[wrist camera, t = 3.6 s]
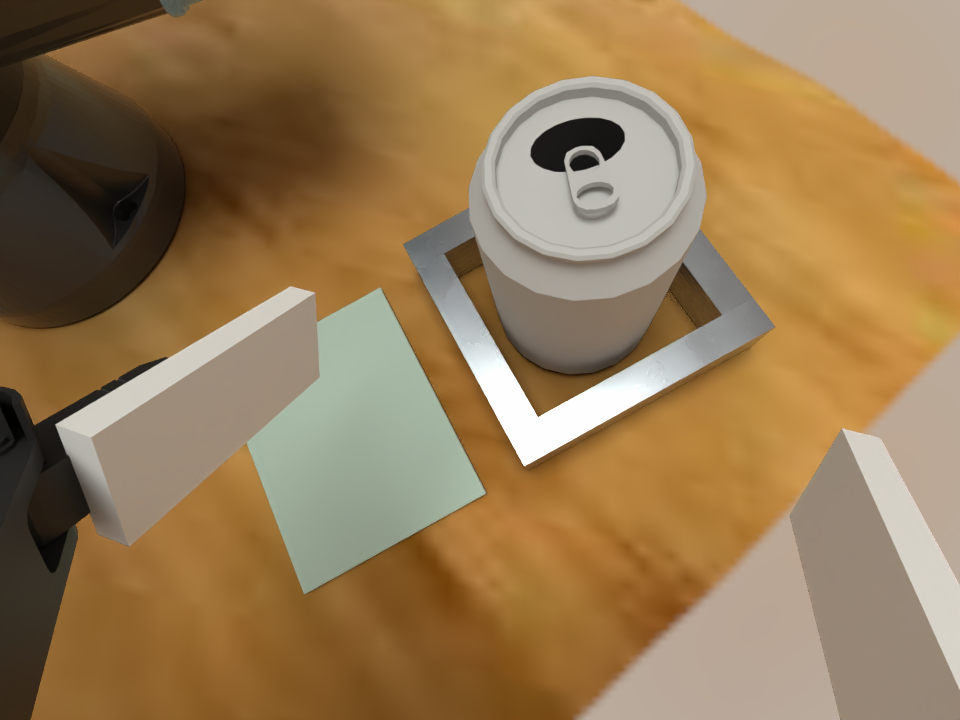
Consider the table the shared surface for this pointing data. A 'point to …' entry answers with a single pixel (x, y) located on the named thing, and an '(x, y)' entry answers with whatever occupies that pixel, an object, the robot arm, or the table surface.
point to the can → (585, 218)
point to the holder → (720, 336)
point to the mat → (360, 449)
